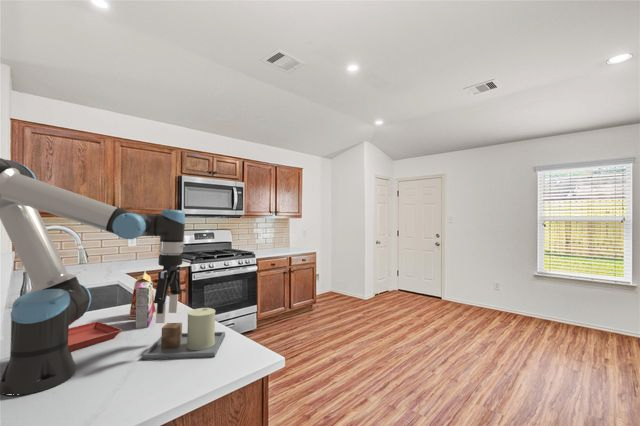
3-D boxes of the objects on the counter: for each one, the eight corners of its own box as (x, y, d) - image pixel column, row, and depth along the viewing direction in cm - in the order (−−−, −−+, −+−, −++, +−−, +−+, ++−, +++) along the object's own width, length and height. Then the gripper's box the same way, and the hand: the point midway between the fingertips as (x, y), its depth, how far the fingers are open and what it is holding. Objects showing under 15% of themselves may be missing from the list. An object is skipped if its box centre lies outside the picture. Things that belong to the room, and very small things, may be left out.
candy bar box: (139, 320, 132) (140, 282, 132) (152, 319, 134) (153, 281, 134) (134, 329, 121) (135, 288, 122) (148, 327, 123) (149, 287, 123)
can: (219, 340, 110) (220, 307, 111) (207, 351, 101) (208, 314, 101) (195, 338, 111) (195, 305, 112) (181, 349, 102) (182, 313, 102)
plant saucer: (96, 328, 122) (97, 320, 122) (122, 337, 114) (123, 328, 114) (38, 345, 106) (39, 335, 106) (64, 356, 98) (64, 346, 98)
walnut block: (161, 349, 102) (161, 328, 102) (166, 343, 107) (167, 323, 107) (176, 348, 103) (177, 327, 103) (181, 342, 108) (182, 322, 108)
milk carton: (134, 313, 141) (135, 270, 141) (156, 312, 143) (157, 269, 144) (128, 320, 132) (129, 273, 132) (151, 318, 135) (153, 273, 135)
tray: (214, 357, 98) (214, 352, 98) (142, 359, 95) (142, 355, 95) (225, 335, 116) (225, 331, 116) (164, 337, 113) (164, 333, 113)
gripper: (170, 258, 95) (165, 329, 95) (192, 250, 118) (188, 308, 118) (144, 257, 95) (139, 328, 94) (171, 250, 117) (168, 307, 117)
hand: (166, 317), depth 106 cm, fingers open, 10 cm apart
